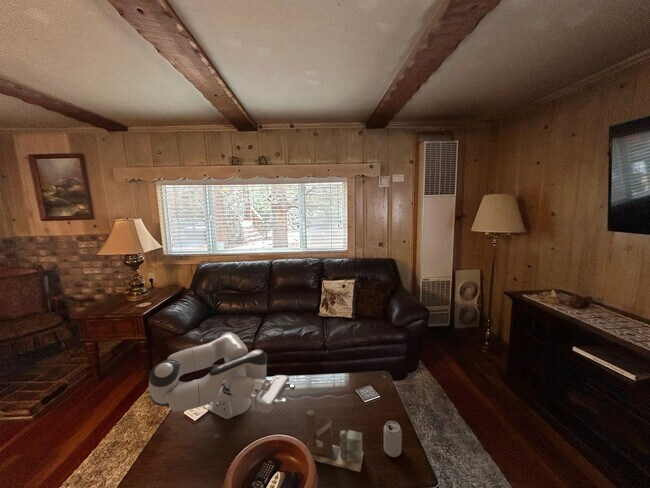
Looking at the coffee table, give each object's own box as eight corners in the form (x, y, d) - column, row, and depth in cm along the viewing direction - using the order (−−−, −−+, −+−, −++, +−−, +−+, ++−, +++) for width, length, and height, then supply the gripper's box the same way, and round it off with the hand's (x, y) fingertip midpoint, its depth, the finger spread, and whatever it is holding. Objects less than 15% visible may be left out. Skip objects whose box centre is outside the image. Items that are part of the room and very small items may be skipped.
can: (381, 443, 119) (381, 419, 118) (397, 442, 120) (398, 418, 118) (386, 459, 112) (386, 434, 110) (404, 457, 113) (404, 432, 111)
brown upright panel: (331, 456, 112) (330, 418, 110) (306, 453, 114) (305, 415, 112) (332, 449, 116) (331, 411, 113) (308, 445, 118) (307, 409, 115)
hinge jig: (304, 457, 114) (303, 432, 112) (310, 441, 121) (309, 417, 120) (360, 472, 107) (360, 445, 105) (363, 454, 115) (363, 429, 113)
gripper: (273, 381, 130) (299, 386, 126) (250, 412, 111) (280, 418, 107) (272, 369, 129) (298, 373, 125) (249, 398, 110) (280, 404, 106)
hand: (290, 394), depth 116 cm, fingers open, 8 cm apart
